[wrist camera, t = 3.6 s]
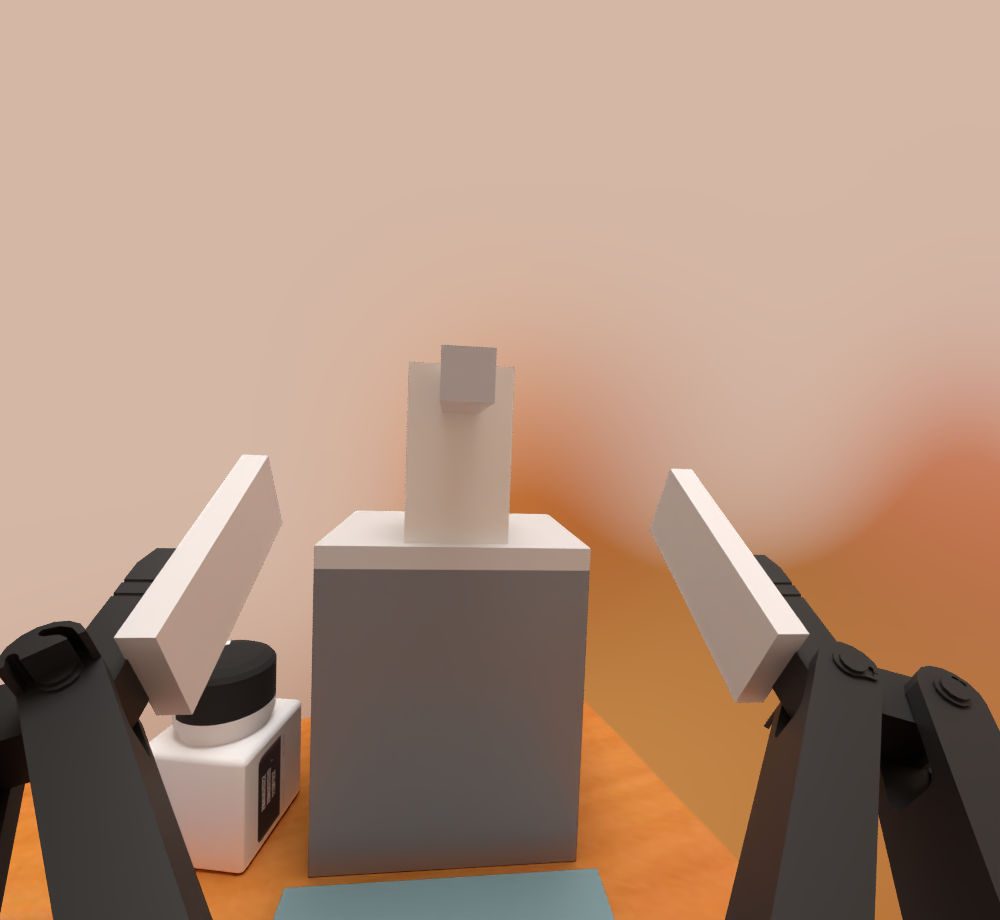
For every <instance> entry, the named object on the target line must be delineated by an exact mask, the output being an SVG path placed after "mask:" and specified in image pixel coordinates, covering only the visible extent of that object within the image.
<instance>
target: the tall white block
mask: <svg viewBox="0 0 1000 920" xmlns="http://www.w3.org/2000/svg"><path fill="white" fill-rule="evenodd" d="M496 351H497V348H487V347H470V346H452V345H442V346H441V363H424V362H409V375H408V411H407V447H406V449H407V451H406V484H405V520H404V543H438V544H508V530H509V503H510V477H511V452H512V451H511V450H512V425H513V400H514V374H515V368H514V367H499V366H496Z"/></svg>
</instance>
